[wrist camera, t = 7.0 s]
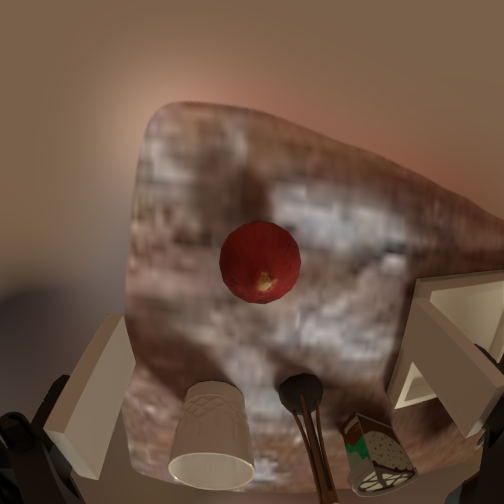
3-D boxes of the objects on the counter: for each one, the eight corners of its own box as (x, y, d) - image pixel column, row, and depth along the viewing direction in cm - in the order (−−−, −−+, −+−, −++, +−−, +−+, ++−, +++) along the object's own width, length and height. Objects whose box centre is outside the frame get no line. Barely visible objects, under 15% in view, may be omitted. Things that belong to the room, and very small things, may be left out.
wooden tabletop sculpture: (336, 379, 31) (395, 536, 12) (316, 406, 33) (359, 555, 14) (289, 370, 30) (330, 550, 11) (271, 398, 32) (296, 564, 13)
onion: (284, 281, 27) (302, 333, 19) (218, 274, 26) (212, 325, 19) (296, 217, 25) (322, 247, 17) (225, 207, 24) (222, 235, 17)
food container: (314, 434, 35) (329, 495, 25) (348, 408, 33) (372, 470, 24) (366, 451, 38) (385, 500, 28) (396, 428, 36) (420, 477, 27)
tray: (515, 267, 28) (530, 276, 26) (482, 365, 34) (492, 376, 31) (416, 278, 28) (431, 291, 25) (385, 393, 33) (394, 409, 30)
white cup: (191, 366, 29) (180, 443, 20) (261, 387, 31) (270, 462, 21) (171, 409, 32) (159, 478, 22) (233, 427, 33) (235, 494, 24)
